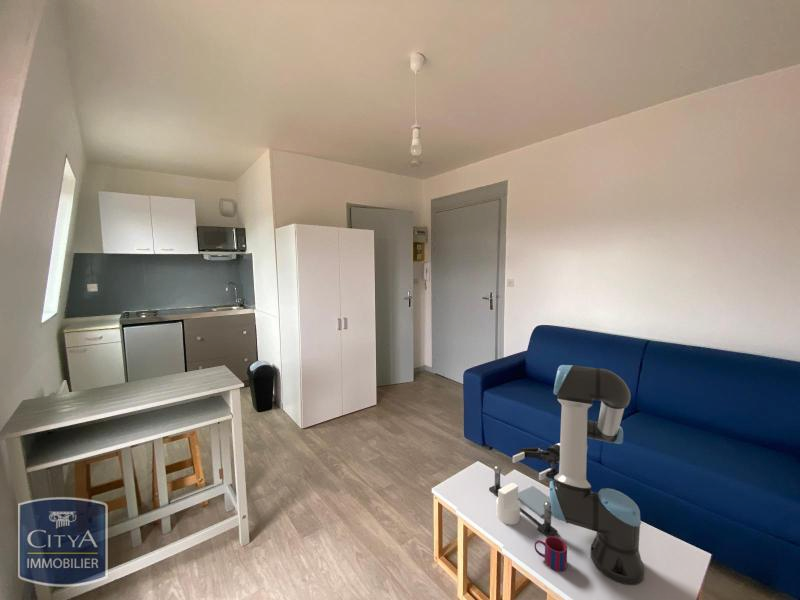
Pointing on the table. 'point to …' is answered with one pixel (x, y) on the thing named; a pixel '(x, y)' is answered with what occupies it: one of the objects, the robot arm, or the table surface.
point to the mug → (554, 553)
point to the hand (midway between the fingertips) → (525, 467)
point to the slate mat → (534, 500)
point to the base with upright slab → (508, 504)
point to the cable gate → (543, 528)
